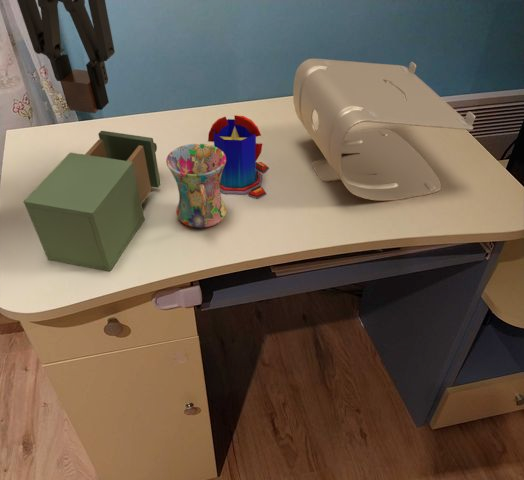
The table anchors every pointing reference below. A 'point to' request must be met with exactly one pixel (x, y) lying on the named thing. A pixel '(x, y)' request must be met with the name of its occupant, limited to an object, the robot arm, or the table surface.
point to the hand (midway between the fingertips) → (88, 103)
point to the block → (79, 91)
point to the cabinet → (87, 210)
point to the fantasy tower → (239, 156)
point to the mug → (198, 183)
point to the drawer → (131, 157)
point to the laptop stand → (376, 111)
